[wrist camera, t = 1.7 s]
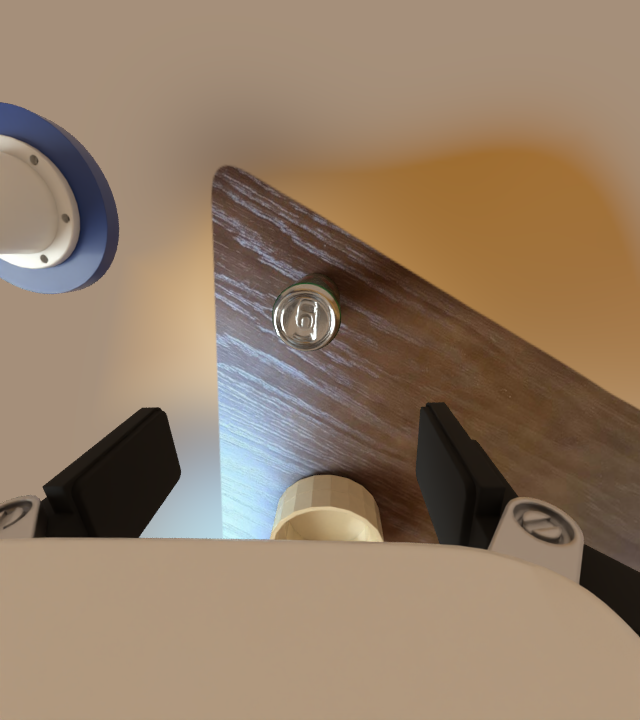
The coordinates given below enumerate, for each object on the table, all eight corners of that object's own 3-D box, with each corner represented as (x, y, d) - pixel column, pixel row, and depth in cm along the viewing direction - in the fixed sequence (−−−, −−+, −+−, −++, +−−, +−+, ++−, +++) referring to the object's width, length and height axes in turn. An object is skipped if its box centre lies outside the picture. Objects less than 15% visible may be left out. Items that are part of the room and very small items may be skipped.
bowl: (271, 535, 44) (261, 577, 39) (288, 460, 39) (279, 495, 34) (362, 555, 44) (366, 599, 39) (391, 483, 40) (399, 521, 34)
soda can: (289, 315, 33) (264, 348, 21) (297, 268, 31) (274, 277, 20) (334, 324, 33) (332, 362, 21) (344, 278, 31) (348, 292, 20)
